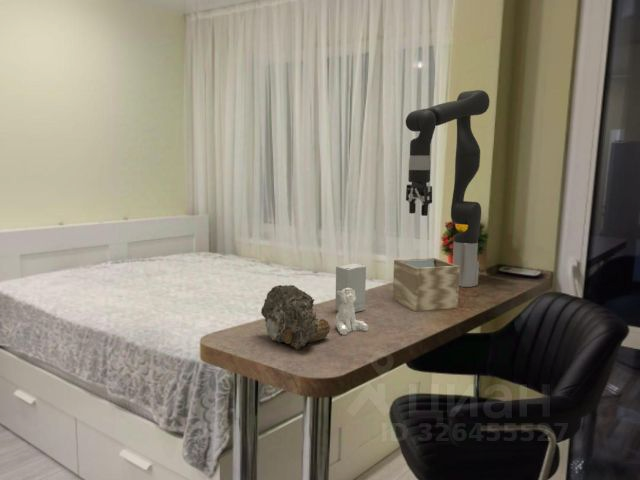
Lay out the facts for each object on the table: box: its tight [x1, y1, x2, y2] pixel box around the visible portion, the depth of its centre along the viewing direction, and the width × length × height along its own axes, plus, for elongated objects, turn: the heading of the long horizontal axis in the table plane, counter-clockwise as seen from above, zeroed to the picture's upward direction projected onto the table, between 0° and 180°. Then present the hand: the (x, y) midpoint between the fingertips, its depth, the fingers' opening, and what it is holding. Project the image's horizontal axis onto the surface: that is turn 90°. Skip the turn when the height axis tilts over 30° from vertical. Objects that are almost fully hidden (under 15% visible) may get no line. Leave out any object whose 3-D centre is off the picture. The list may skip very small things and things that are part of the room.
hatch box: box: [392, 257, 460, 312], centre depth 178 cm, size 16×16×14 cm
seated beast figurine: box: [334, 288, 369, 336], centre depth 148 cm, size 10×9×12 cm
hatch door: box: [401, 258, 435, 268], centre depth 181 cm, size 13×13×1 cm
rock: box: [260, 284, 331, 350], centre depth 137 cm, size 18×14×15 cm
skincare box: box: [334, 262, 367, 313], centre depth 167 cm, size 8×6×15 cm
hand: (418, 214), depth 187 cm, fingers open, 8 cm apart
